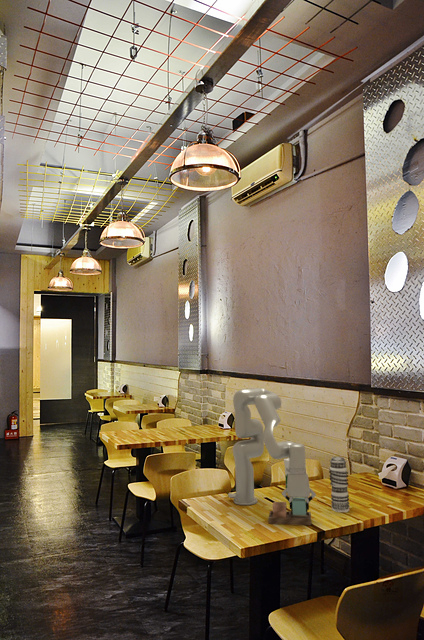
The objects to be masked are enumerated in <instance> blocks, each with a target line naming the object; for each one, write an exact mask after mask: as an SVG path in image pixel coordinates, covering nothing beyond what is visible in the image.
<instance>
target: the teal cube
mask: <svg viewBox="0 0 424 640" xmlns="http://www.w3.org/2000/svg"><path fill="white" fill-rule="evenodd" d="M292 508H293V515H306V499H305V497H293V498H292Z"/></svg>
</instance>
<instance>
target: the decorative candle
mask: <svg viewBox="0 0 424 640" xmlns="http://www.w3.org/2000/svg"><path fill="white" fill-rule="evenodd" d="M329 462H330V463H329V464H330V467H329V471H328V473H329V481H330V486H331V494H330V497H331V498H330V499H331V510H332V511H334V512H336V513H347V512H349V511H350V498H349V497H350V496H349V491H348V486H349V479H348V477H349V472H348V471H347V470H348V468H347V460H346V459H345V458H344V456H333V457H331V459H330V460H329Z"/></svg>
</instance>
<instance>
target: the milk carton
mask: <svg viewBox="0 0 424 640" xmlns="http://www.w3.org/2000/svg"><path fill="white" fill-rule="evenodd" d="M283 464H284V475H285V476H284V477H285V479H284V480H285V489H286V488H287V479H288V474H289V473H290V472H288V471H286V468H289V457H287V458H283Z"/></svg>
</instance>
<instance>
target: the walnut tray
mask: <svg viewBox="0 0 424 640" xmlns="http://www.w3.org/2000/svg"><path fill="white" fill-rule="evenodd" d="M311 513H312V512H311V511H308V512H306V515H293V511H292V512H291V510H290V511H289V510H287V501H273V503H272V510H269V514H268V525H269V524H270V525H287V524H288V525H293V526H294V525H295V526H312V514H311Z"/></svg>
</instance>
